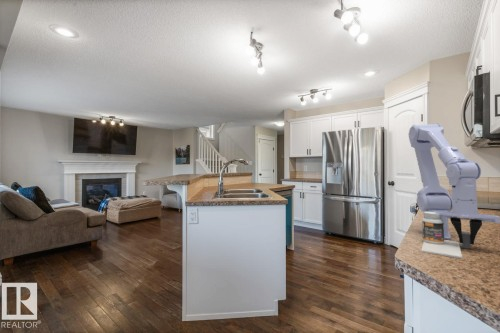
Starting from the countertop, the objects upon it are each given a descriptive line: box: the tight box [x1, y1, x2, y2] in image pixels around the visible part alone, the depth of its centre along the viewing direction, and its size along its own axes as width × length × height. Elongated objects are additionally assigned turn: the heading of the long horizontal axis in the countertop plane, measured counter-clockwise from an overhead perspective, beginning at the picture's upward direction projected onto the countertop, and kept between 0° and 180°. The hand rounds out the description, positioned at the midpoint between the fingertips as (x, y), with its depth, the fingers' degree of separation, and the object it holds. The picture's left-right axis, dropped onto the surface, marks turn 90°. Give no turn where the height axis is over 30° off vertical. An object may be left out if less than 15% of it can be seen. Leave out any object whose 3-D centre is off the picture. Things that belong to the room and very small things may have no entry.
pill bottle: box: [421, 211, 445, 244], centre depth 76 cm, size 6×6×10 cm
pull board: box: [421, 231, 472, 260], centre depth 71 cm, size 18×12×4 cm, turn 139°
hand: (466, 243), depth 70 cm, fingers closed on pull board, 2 cm apart
